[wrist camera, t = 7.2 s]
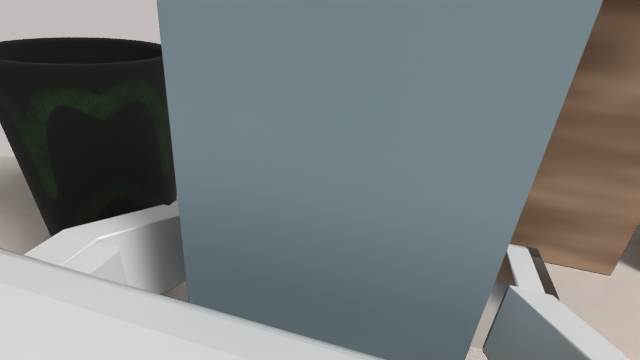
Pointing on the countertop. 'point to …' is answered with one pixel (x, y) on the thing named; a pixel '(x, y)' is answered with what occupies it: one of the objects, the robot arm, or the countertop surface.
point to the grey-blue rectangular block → (361, 157)
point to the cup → (88, 126)
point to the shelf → (591, 157)
